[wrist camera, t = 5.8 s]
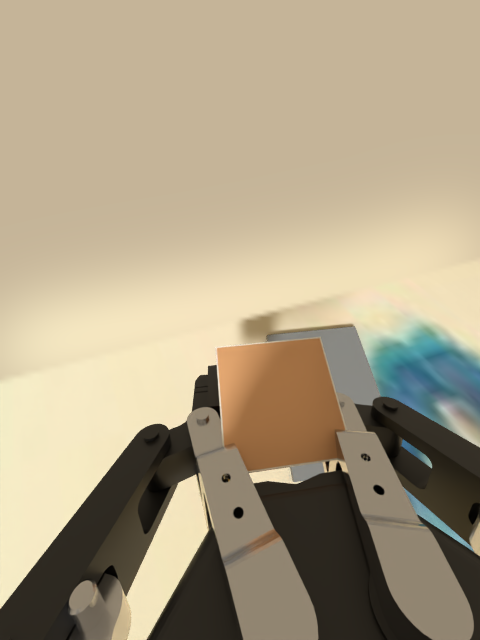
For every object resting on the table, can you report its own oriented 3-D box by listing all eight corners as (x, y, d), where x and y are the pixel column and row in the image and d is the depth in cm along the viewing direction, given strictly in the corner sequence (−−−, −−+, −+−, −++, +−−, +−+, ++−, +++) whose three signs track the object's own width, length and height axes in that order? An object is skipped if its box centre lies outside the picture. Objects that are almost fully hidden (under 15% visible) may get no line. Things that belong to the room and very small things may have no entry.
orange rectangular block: (226, 451, 16) (224, 476, 7) (221, 390, 18) (215, 346, 9) (284, 443, 16) (354, 457, 7) (274, 384, 18) (320, 336, 9)
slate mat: (292, 480, 24) (294, 481, 23) (266, 336, 31) (267, 335, 30) (402, 464, 25) (405, 464, 24) (352, 328, 32) (354, 326, 31)
